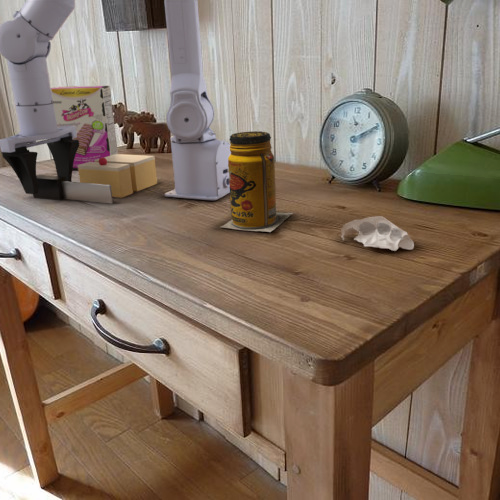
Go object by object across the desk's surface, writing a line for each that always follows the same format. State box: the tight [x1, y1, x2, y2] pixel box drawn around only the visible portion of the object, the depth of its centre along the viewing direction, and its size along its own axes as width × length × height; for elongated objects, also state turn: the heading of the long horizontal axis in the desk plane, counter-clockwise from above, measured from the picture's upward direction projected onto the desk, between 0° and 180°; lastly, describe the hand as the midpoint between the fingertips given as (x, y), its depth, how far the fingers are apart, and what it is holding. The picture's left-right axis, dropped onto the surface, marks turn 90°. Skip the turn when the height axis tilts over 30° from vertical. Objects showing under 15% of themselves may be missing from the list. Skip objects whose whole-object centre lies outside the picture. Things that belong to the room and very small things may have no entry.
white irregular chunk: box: [340, 215, 415, 252], centre depth 63 cm, size 6×8×4 cm
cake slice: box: [78, 157, 134, 199], centre depth 91 cm, size 8×3×6 cm, turn 65°
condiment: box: [221, 130, 294, 233], centre depth 72 cm, size 7×8×12 cm
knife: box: [32, 174, 114, 205], centre depth 88 cm, size 16×2×4 cm, turn 65°
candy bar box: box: [51, 84, 119, 171], centre depth 110 cm, size 11×5×16 cm, turn 84°
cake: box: [94, 153, 158, 192], centre depth 96 cm, size 8×6×5 cm
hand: (49, 187), depth 91 cm, fingers open, 7 cm apart
